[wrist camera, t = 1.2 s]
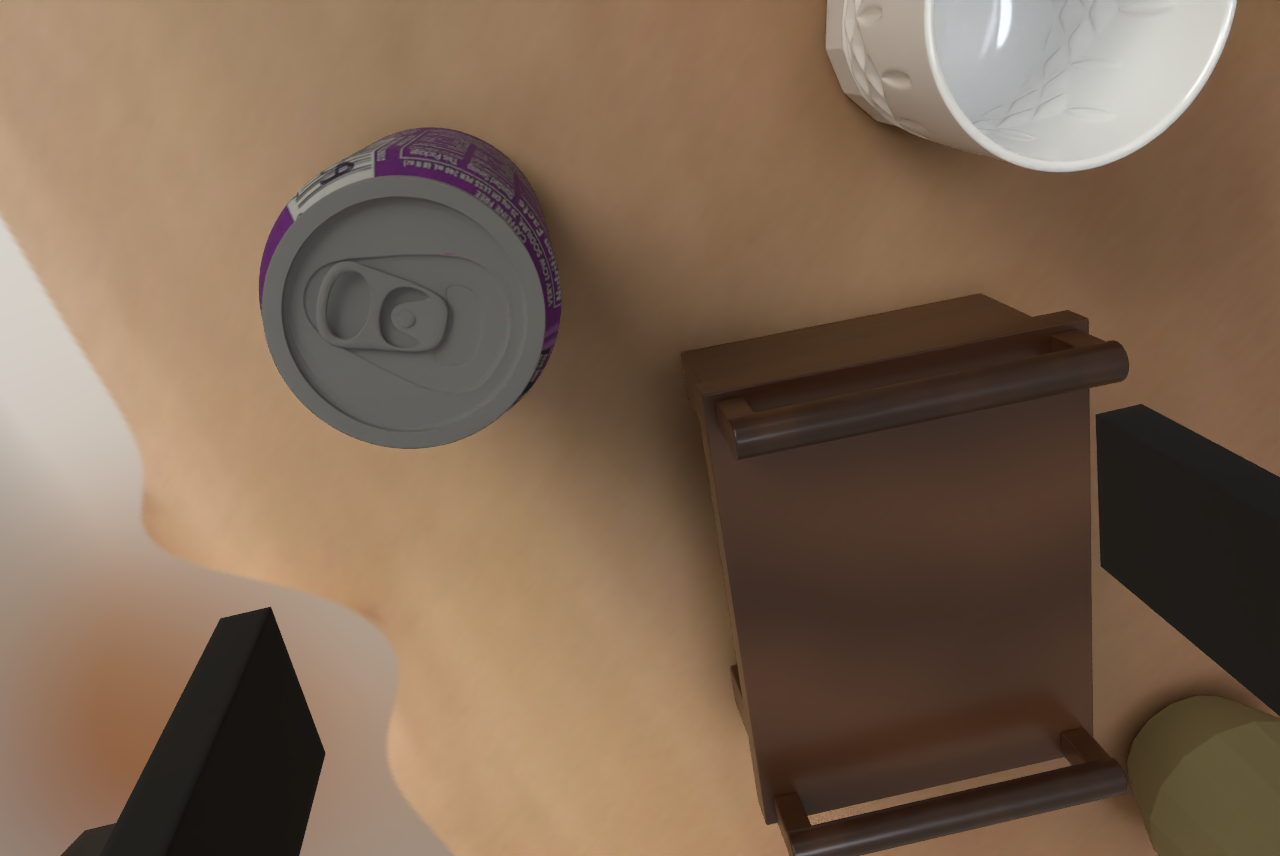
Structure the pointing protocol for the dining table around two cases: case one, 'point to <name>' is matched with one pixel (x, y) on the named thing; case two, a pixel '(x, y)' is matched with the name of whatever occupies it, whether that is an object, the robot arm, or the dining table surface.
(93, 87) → the dining table surface
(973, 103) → the white cup
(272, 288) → the beverage can
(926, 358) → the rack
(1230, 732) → the squeeze bottle
